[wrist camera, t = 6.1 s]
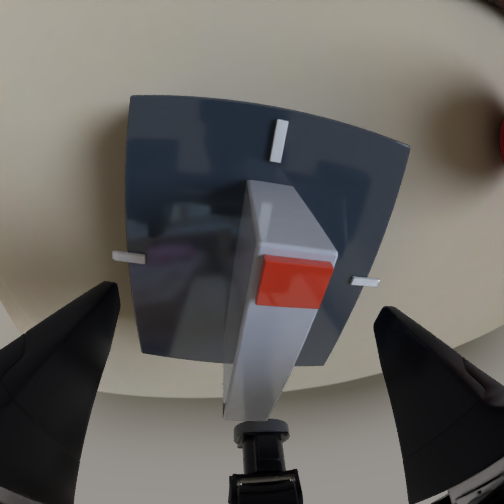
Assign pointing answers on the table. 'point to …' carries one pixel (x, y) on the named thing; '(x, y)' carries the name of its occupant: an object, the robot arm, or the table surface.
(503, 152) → the christmas ornament
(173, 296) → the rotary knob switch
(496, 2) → the sunglasses case
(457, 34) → the table surface
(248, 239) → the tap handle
